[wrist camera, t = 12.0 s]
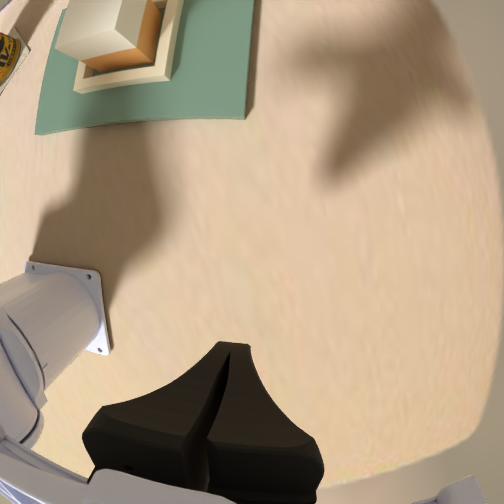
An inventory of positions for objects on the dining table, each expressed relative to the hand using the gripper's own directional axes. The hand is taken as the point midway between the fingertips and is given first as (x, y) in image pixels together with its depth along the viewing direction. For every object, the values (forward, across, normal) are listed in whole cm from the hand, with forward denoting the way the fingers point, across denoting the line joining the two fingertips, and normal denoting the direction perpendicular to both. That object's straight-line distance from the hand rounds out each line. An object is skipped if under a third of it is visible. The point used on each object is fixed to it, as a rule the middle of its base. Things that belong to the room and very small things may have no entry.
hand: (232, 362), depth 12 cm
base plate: (+9, +10, -18) cm, 23 cm away
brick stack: (+8, +10, -18) cm, 22 cm away
